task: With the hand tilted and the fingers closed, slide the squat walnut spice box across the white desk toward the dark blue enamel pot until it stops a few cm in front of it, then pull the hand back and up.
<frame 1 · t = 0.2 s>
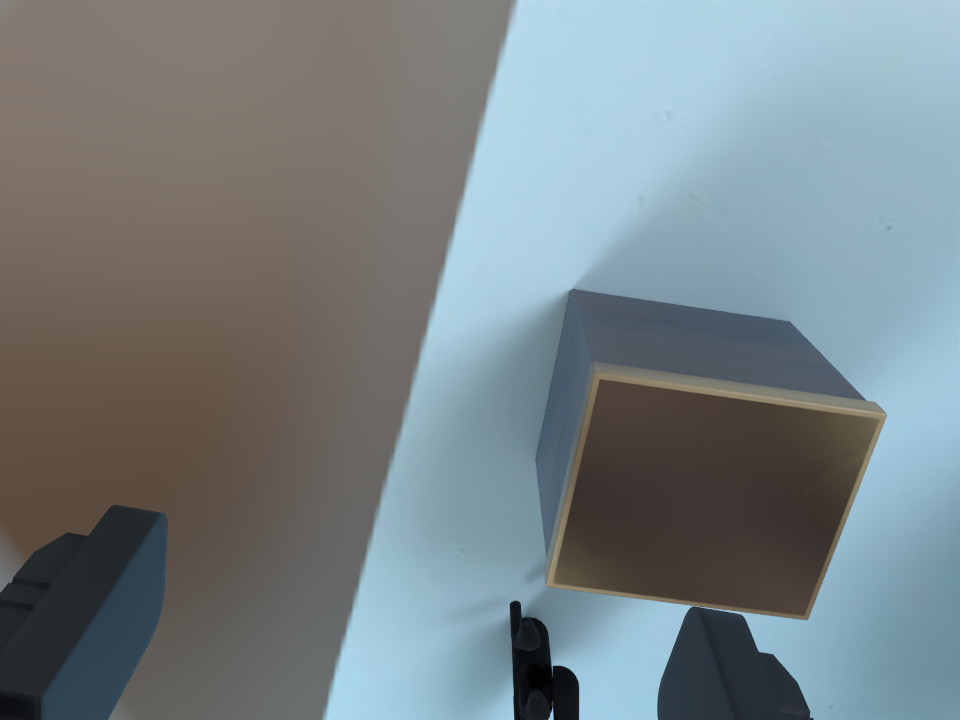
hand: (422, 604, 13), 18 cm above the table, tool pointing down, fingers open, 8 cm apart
spice box: (658, 393, 31), on the table
wireless earbuds: (540, 635, 35), on the table
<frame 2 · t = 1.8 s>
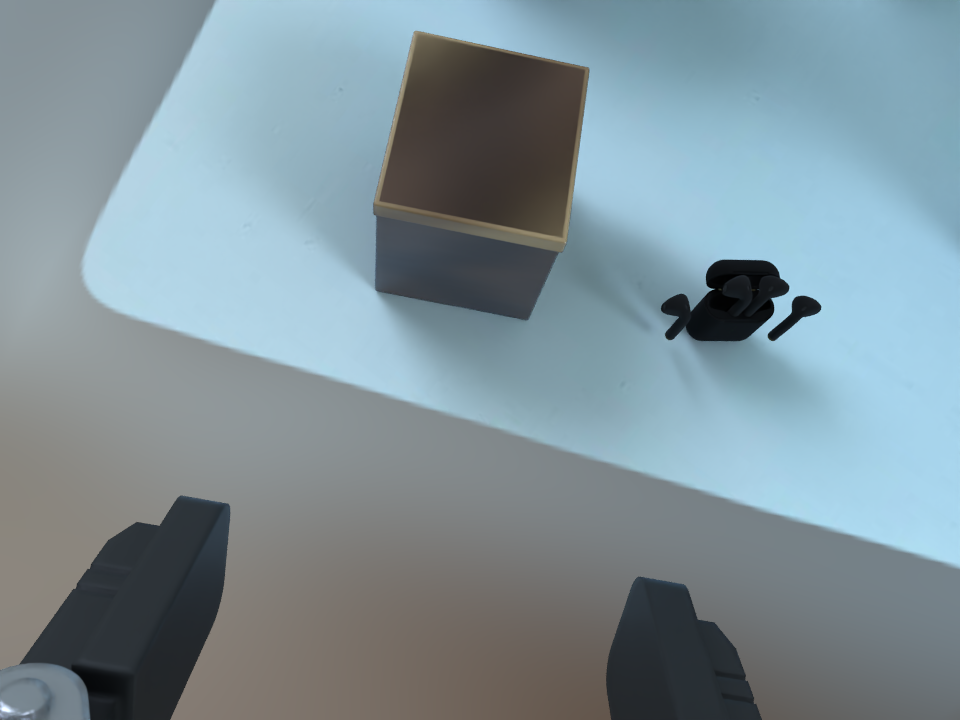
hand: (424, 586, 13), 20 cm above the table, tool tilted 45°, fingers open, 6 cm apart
spice box: (466, 229, 39), on the table
wireless earbuds: (710, 322, 39), on the table
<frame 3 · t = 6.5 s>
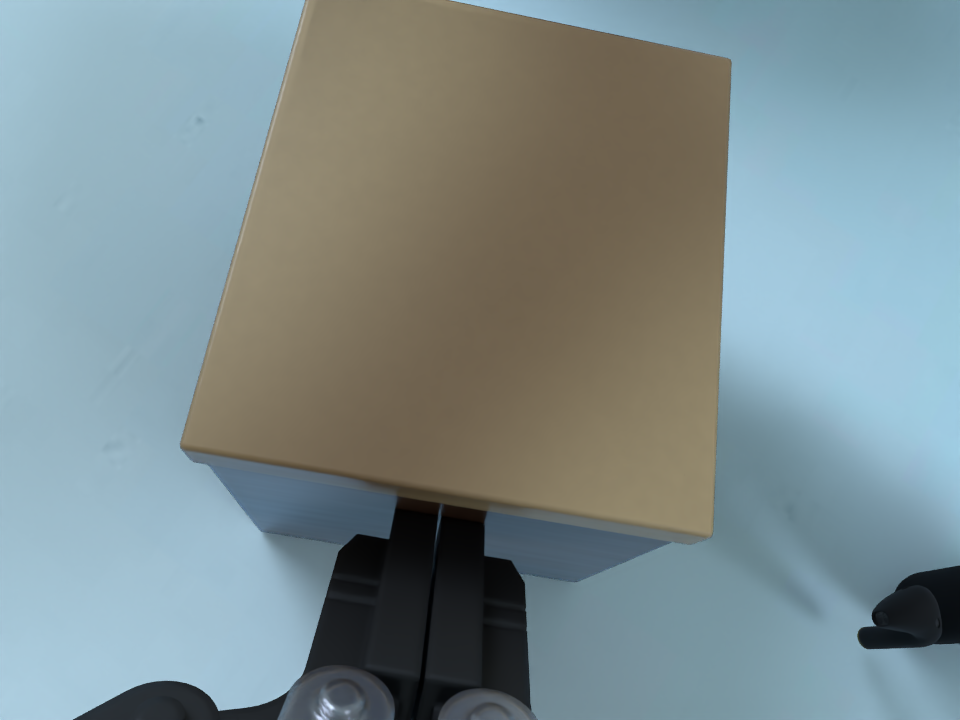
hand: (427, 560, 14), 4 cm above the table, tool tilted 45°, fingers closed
spice box: (448, 384, 19), on the table, touching gripper
wireless earbuds: (932, 587, 19), on the table
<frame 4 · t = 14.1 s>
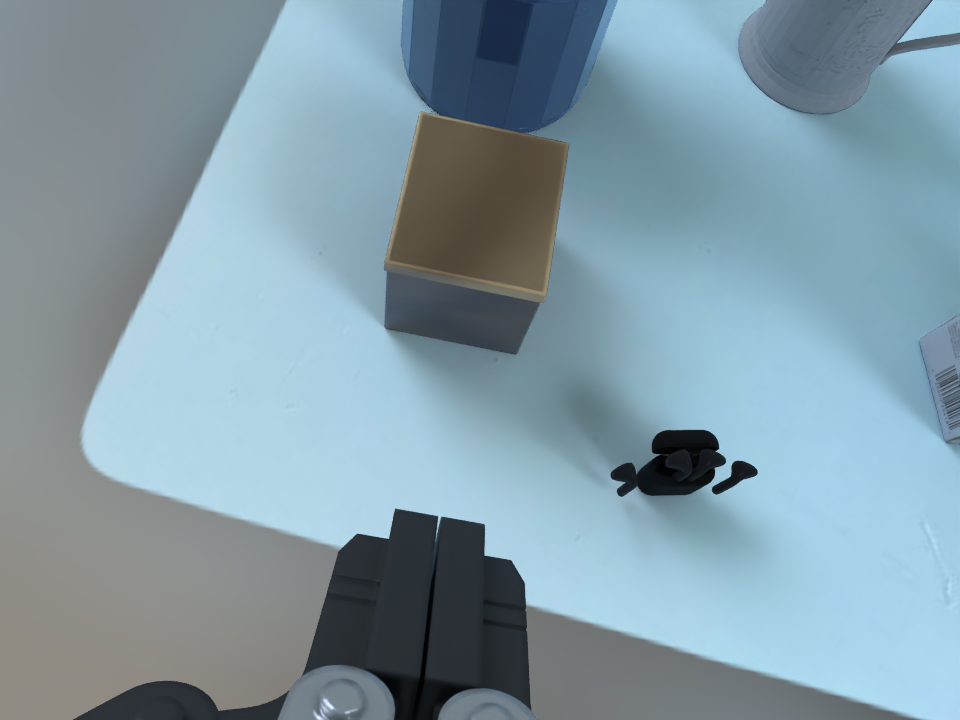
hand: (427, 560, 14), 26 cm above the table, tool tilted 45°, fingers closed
spice box: (463, 274, 45), on the table
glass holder: (842, 74, 53), on the table
pot: (495, 56, 50), on the table
wireless earbuds: (660, 474, 42), on the table
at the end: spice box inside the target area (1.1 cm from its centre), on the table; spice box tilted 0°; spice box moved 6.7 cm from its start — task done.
